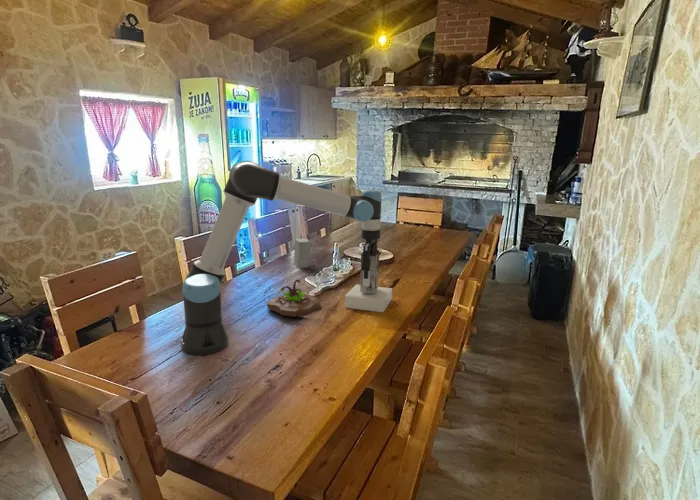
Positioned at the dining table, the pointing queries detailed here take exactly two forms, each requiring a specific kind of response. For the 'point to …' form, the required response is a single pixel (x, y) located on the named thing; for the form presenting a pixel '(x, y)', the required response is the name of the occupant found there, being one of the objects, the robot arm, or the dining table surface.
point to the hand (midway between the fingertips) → (369, 282)
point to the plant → (293, 302)
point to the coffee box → (371, 273)
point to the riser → (368, 299)
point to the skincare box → (302, 253)
